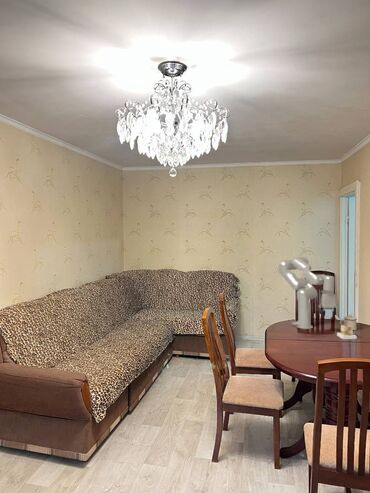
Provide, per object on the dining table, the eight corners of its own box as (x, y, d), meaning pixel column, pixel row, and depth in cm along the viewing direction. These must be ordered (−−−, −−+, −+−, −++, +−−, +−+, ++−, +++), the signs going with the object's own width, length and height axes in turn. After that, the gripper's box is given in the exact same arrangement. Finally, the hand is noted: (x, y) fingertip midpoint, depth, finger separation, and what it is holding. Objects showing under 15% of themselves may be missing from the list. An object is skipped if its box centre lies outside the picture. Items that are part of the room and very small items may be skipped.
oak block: (344, 335, 262) (344, 327, 262) (340, 333, 268) (340, 325, 268) (352, 335, 262) (352, 327, 262) (349, 333, 268) (349, 325, 268)
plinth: (342, 339, 260) (342, 336, 260) (337, 335, 270) (337, 332, 270) (356, 338, 260) (356, 336, 260) (350, 335, 270) (350, 332, 270)
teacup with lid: (357, 329, 288) (357, 314, 288) (355, 331, 281) (355, 316, 280) (341, 327, 295) (341, 312, 295) (338, 329, 288) (338, 314, 287)
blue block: (325, 317, 275) (325, 309, 274) (323, 315, 280) (323, 307, 279) (332, 317, 275) (332, 309, 274) (329, 315, 280) (330, 307, 279)
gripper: (319, 293, 273) (318, 317, 274) (341, 293, 272) (340, 317, 273) (315, 291, 280) (314, 314, 281) (337, 291, 280) (337, 314, 281)
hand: (327, 315), depth 277 cm, fingers closed on blue block, 5 cm apart
